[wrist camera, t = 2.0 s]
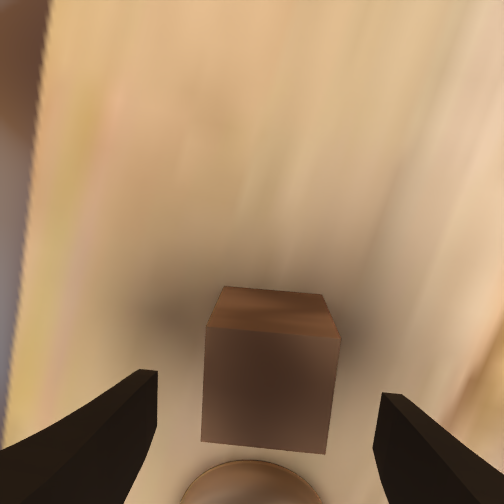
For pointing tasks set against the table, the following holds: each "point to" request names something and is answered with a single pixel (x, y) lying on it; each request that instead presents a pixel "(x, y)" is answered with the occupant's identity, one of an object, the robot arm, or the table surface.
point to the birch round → (250, 485)
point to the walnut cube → (269, 370)
